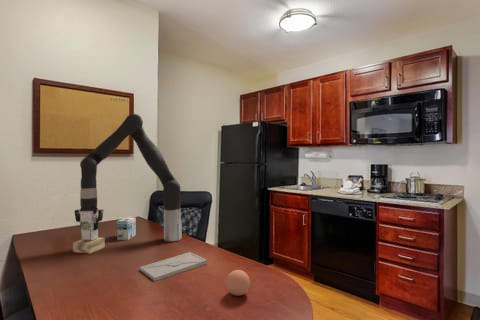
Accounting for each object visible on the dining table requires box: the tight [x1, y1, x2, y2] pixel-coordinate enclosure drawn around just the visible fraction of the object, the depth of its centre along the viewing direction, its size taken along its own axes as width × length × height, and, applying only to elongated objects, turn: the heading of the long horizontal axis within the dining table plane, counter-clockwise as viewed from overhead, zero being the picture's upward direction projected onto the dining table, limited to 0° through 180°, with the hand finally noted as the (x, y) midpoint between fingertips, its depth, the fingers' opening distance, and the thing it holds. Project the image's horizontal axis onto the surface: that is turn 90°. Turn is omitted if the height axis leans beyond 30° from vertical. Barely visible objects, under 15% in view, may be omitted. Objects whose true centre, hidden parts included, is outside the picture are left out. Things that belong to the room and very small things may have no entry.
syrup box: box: [80, 211, 99, 240], centre depth 138 cm, size 6×6×14 cm
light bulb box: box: [116, 216, 137, 241], centre depth 158 cm, size 11×7×11 cm, turn 179°
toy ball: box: [225, 269, 251, 297], centre depth 91 cm, size 8×8×8 cm
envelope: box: [139, 251, 208, 282], centre depth 115 cm, size 24×2×14 cm
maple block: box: [72, 236, 106, 254], centre depth 138 cm, size 10×10×5 cm
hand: (89, 229), depth 138 cm, fingers closed on syrup box, 6 cm apart
